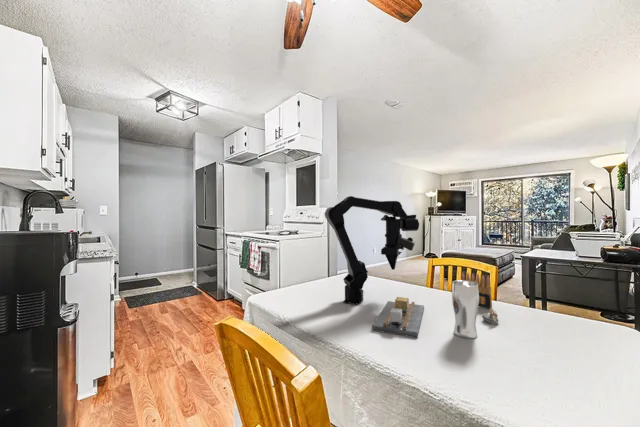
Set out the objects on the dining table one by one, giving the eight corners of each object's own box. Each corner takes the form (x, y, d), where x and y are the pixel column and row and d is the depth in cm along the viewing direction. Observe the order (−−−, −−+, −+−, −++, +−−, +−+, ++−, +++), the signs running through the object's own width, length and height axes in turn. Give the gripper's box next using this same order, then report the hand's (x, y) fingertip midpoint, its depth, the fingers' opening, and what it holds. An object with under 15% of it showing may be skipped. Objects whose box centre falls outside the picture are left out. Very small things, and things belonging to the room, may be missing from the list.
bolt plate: (372, 330, 86) (372, 322, 86) (388, 305, 108) (388, 298, 108) (417, 337, 80) (417, 329, 80) (424, 309, 103) (424, 302, 103)
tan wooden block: (395, 309, 96) (395, 300, 96) (397, 306, 100) (396, 296, 100) (407, 311, 95) (407, 301, 95) (408, 307, 98) (408, 298, 98)
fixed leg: (390, 325, 86) (390, 311, 86) (392, 322, 89) (392, 308, 88) (400, 327, 85) (400, 312, 85) (402, 323, 87) (402, 309, 87)
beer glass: (476, 330, 85) (476, 280, 84) (481, 341, 78) (481, 286, 78) (450, 327, 87) (450, 279, 87) (453, 337, 80) (453, 284, 80)
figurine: (478, 318, 94) (480, 301, 93) (491, 318, 94) (493, 301, 93) (488, 327, 88) (491, 309, 88) (502, 327, 89) (504, 309, 88)
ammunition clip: (492, 307, 105) (491, 275, 104) (490, 308, 103) (490, 276, 103) (461, 301, 112) (461, 271, 112) (459, 302, 111) (459, 271, 111)
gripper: (410, 233, 104) (411, 275, 104) (415, 230, 121) (416, 266, 121) (380, 233, 109) (381, 273, 109) (389, 229, 126) (389, 264, 126)
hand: (393, 269), depth 116 cm, fingers closed
